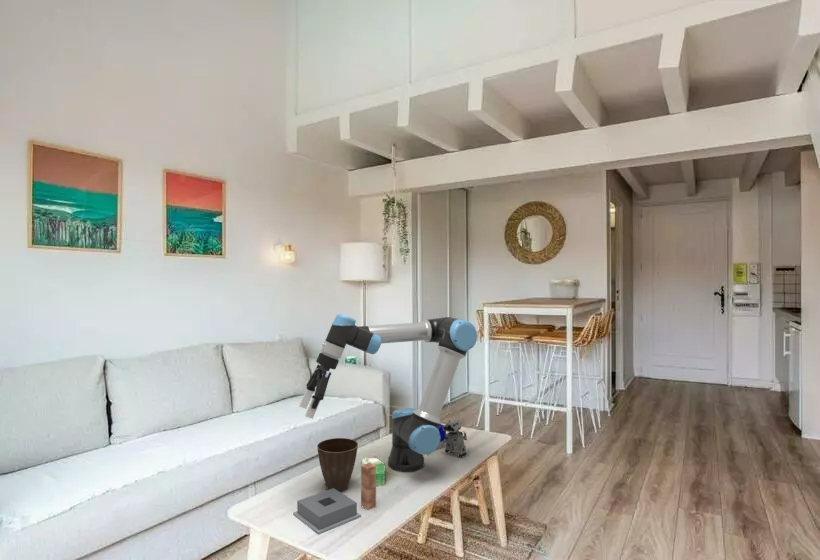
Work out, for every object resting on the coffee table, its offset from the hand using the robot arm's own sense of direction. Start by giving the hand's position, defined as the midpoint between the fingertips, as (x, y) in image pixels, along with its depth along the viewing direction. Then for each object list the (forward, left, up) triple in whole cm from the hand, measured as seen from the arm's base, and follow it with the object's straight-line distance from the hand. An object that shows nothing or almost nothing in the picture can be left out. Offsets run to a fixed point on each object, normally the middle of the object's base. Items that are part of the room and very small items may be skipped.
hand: (305, 412), depth 168 cm
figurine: (-68, +7, -31) cm, 75 cm away
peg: (-13, +19, -31) cm, 39 cm away
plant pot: (-13, 0, -31) cm, 34 cm away
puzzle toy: (-68, -7, -31) cm, 75 cm away
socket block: (+1, +15, -31) cm, 34 cm away
